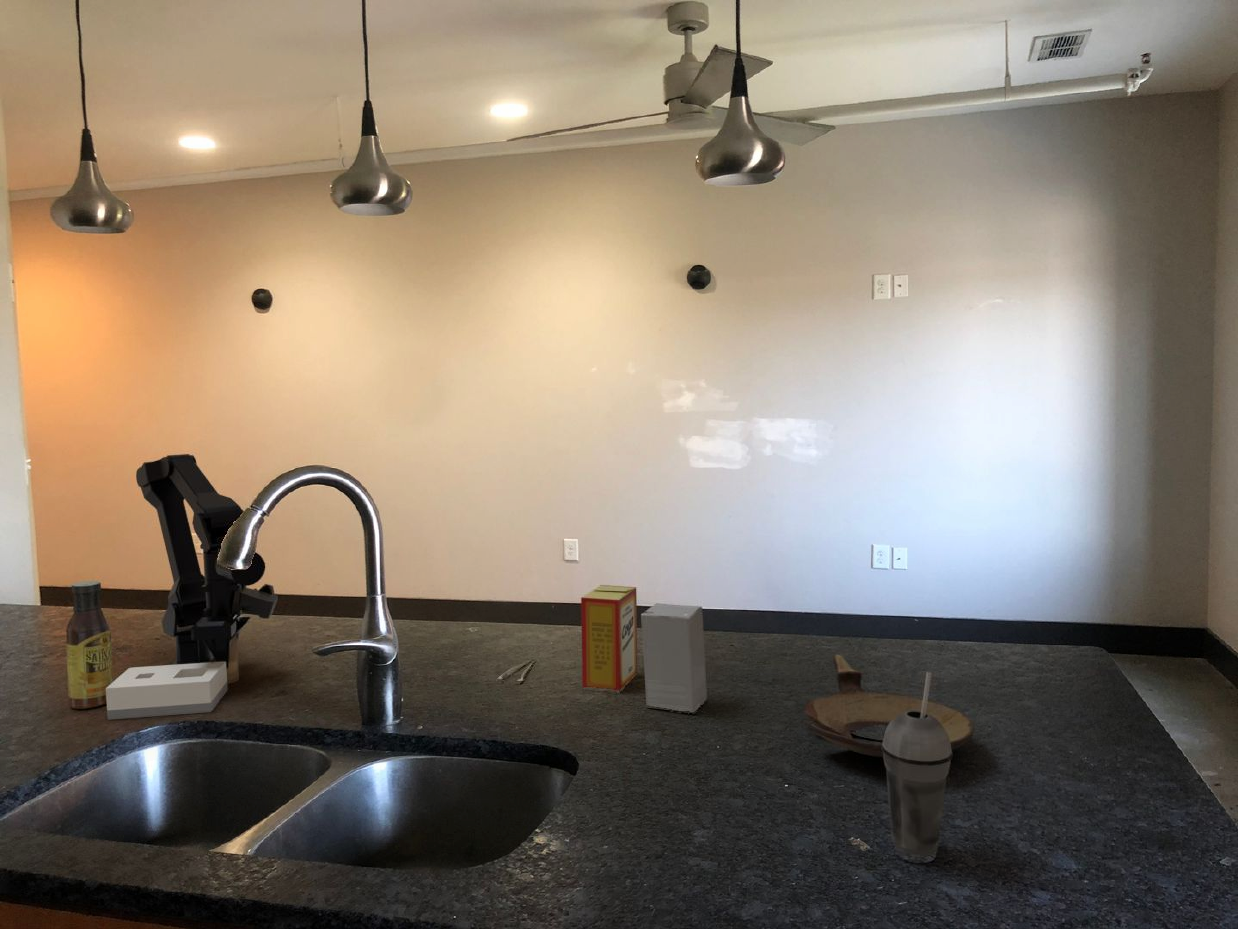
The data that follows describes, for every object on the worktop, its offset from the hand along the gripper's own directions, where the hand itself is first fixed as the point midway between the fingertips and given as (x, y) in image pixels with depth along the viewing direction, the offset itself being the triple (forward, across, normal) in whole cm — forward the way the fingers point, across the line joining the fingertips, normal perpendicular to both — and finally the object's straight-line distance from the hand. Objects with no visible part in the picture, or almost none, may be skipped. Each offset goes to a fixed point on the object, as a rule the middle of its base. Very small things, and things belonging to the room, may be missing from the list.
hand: (227, 665), depth 152 cm
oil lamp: (+3, -47, -99) cm, 110 cm away
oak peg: (+3, 0, 0) cm, 3 cm away
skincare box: (+3, -28, -73) cm, 78 cm away
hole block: (+3, -10, +6) cm, 12 cm away
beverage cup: (+3, -75, -88) cm, 116 cm away
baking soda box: (+3, -15, -65) cm, 67 cm away
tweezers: (+4, -4, -51) cm, 52 cm away
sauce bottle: (+3, -7, +19) cm, 21 cm away
